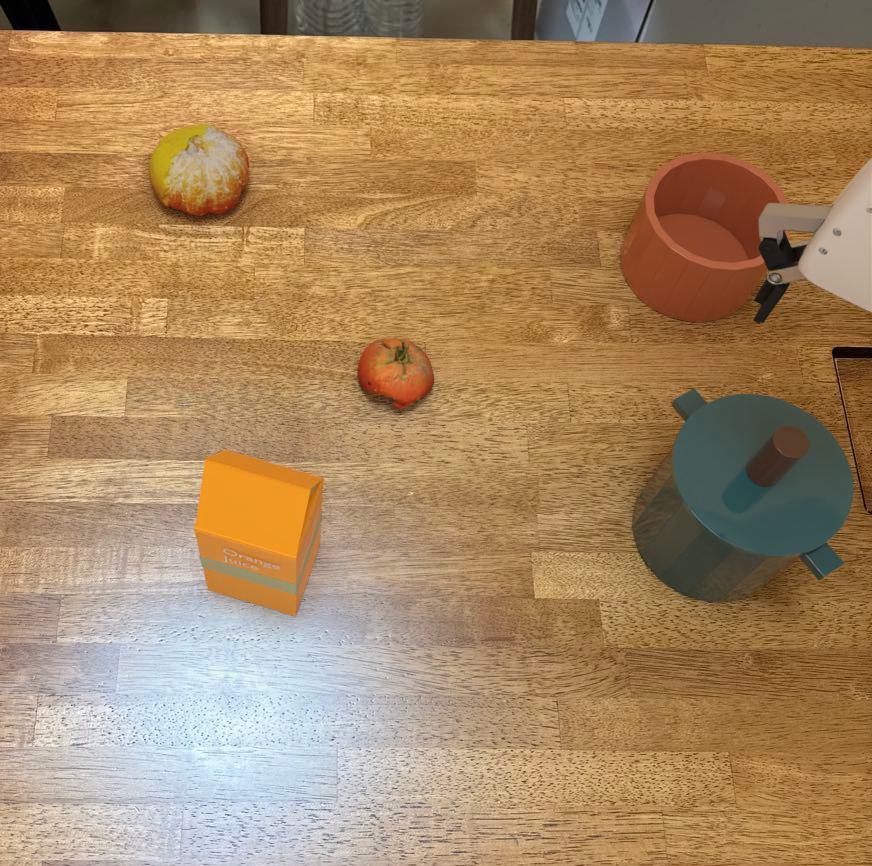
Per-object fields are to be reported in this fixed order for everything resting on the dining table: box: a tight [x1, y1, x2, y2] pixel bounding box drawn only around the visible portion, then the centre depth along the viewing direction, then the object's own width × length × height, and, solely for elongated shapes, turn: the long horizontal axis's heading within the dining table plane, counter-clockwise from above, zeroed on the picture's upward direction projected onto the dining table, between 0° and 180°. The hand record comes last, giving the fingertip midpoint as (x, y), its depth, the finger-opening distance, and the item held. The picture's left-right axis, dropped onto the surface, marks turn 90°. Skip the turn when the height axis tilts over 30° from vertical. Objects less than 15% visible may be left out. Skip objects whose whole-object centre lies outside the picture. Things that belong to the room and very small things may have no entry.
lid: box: [671, 393, 855, 558], centre depth 86 cm, size 16×16×7 cm
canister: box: [619, 151, 792, 323], centre depth 108 cm, size 15×15×9 cm
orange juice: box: [193, 449, 324, 617], centre depth 88 cm, size 8×9×20 cm
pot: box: [632, 387, 845, 603], centre depth 94 cm, size 15×20×12 cm
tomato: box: [356, 337, 435, 411], centre depth 104 cm, size 8×7×7 cm
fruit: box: [147, 123, 250, 217], centre depth 112 cm, size 11×10×8 cm
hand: (825, 339), depth 74 cm, fingers open, 9 cm apart
